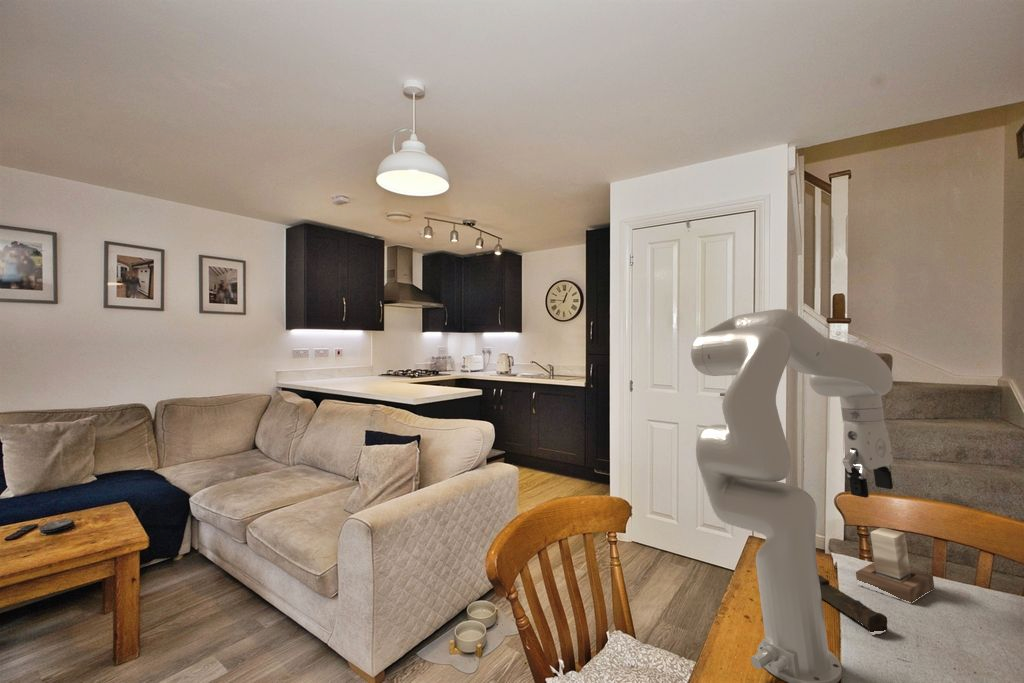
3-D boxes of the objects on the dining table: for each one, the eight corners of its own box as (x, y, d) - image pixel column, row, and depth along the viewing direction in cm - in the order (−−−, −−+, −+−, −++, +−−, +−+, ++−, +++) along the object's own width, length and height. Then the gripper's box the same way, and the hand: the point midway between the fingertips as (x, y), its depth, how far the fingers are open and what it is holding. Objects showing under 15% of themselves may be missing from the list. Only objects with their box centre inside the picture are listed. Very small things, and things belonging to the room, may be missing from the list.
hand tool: (891, 635, 85) (887, 610, 86) (871, 637, 85) (867, 612, 85) (818, 587, 104) (815, 566, 104) (801, 589, 104) (799, 568, 104)
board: (911, 604, 94) (909, 589, 94) (857, 585, 103) (855, 571, 103) (934, 589, 98) (932, 575, 98) (880, 572, 107) (879, 559, 107)
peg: (902, 595, 97) (894, 538, 98) (877, 586, 101) (869, 532, 102) (913, 588, 99) (905, 532, 100) (888, 580, 103) (880, 527, 104)
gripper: (859, 421, 95) (870, 503, 94) (902, 411, 103) (912, 488, 102) (822, 419, 102) (831, 495, 101) (865, 410, 110) (874, 481, 109)
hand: (872, 491), depth 102 cm, fingers open, 9 cm apart
